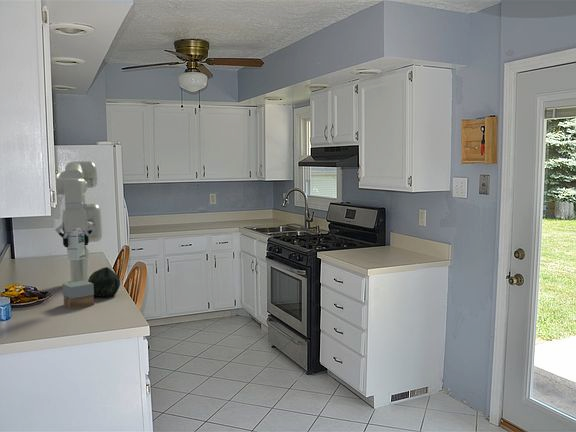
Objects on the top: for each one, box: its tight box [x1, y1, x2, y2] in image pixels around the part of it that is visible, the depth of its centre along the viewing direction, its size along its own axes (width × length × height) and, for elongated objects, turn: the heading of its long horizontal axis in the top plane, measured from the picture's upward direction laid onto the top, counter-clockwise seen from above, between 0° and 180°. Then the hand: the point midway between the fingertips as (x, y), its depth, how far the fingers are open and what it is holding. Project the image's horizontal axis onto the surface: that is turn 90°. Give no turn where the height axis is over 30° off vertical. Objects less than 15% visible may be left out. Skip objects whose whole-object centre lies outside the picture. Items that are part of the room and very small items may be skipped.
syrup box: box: [66, 227, 87, 261], centre depth 235 cm, size 6×6×14 cm
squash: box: [88, 266, 121, 298], centre depth 254 cm, size 14×15×15 cm
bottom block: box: [62, 294, 95, 310], centre depth 238 cm, size 10×10×5 cm
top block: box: [62, 280, 94, 299], centre depth 237 cm, size 10×10×5 cm
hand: (76, 245), depth 235 cm, fingers closed on syrup box, 8 cm apart
